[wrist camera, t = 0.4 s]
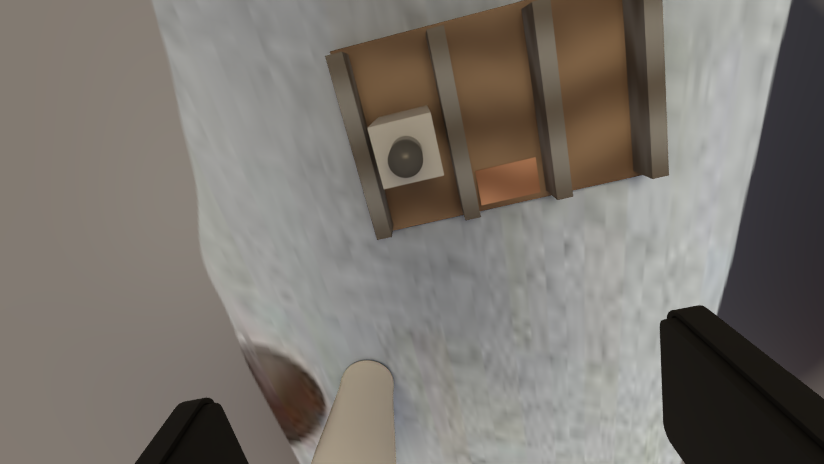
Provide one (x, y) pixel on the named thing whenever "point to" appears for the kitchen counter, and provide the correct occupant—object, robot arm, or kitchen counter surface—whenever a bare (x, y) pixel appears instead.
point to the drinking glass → (360, 419)
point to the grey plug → (405, 147)
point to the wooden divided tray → (512, 104)
